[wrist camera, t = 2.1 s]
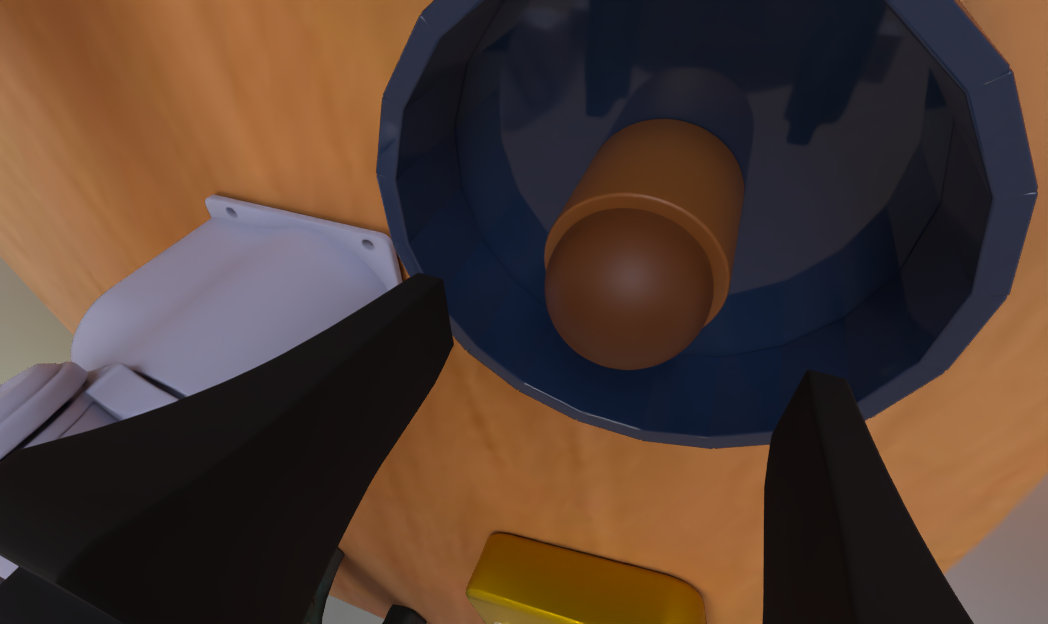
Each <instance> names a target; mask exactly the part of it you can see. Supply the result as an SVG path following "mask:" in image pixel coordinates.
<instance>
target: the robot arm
mask: <svg viewBox="0 0 1048 624" xmlns="http://www.w3.org/2000/svg"><path fill="white" fill-rule="evenodd" d="M205 204H206V207H207V209H208V211H209V213H210V215H211V217H212V218H211V219H209V220H208V221H207V222H205V223H204V224H202V225H201V226H199V227H198V228H196V229H195V230H194V231H192V232H191V233H189V234H188V235H186V236H185V237H184V238H182V239H181V240H179V241H178V242H176V243H175V244H173V245H172V246H171V247H169V248H168V249H166V250H165V251H163V252H162V253H160V254H159V255H158V256H156V257H155V258H153V259H152V260H150V261H149V262H148V263H146V264H145V265H143V266H142V267H140V268H139V269H137V270H136V271H135V272H133V273H132V274H130V275H129V276H127V277H126V278H125V279H123V280H122V281H120V282H119V283H117V284H116V285H114V286H113V287H112V288H110V289H109V290H107V291H106V292H105V293H104V294H103V295H101V296H100V297H99V298H98V299H97V300H96V301H95V302H94V303H93V304H92V305H91V307H90V308H89V309H88V311H87V312H86V313H85V315H84V316H83V318H82V320H81V322H80V324H79V325H78V328H77V330H76V332H75V335H74V338H73V341H72V346H71V362H64V363H61V364H56V363H54V364H36V365H34V366H32V367H30V368H28V369H26V370H24V371H22V372H21V373H19V374H17V375H16V376H14V377H12V378H11V379H9V380H8V381H6V382H4V383H3V384H1V385H0V624H302V623H303V621H304V619H305V616H306V614H307V611H308V609H309V607H310V605H311V602H312V600H313V598H314V596H315V594H316V592H317V589H318V587H319V585H320V583H321V581H322V578H323V576H324V574H325V572H326V570H327V568H328V565H329V563H330V561H331V559H332V557H333V555H334V553H335V551H336V549H337V547H338V545H339V543H340V541H341V539H342V537H343V535H344V533H345V531H346V529H347V527H348V525H349V523H350V521H351V519H352V517H353V515H354V513H355V511H356V509H357V507H358V505H359V504H360V502H361V500H362V498H363V496H364V494H365V492H366V490H367V488H368V486H369V485H370V483H371V481H372V479H373V478H374V476H375V474H376V473H377V471H378V469H379V468H380V466H381V464H382V463H383V461H384V460H385V458H386V457H387V455H388V454H389V452H390V451H391V449H392V448H393V446H394V445H395V443H396V442H397V440H398V439H399V437H400V436H401V434H402V433H403V431H404V430H405V428H406V427H407V425H408V424H409V422H410V421H411V419H412V418H413V416H414V415H415V413H416V412H417V410H418V409H419V407H420V406H421V404H422V403H423V401H424V400H425V398H426V397H427V395H428V394H429V392H430V390H431V389H432V387H433V386H434V384H435V382H436V380H437V378H438V376H439V374H440V372H441V370H442V368H443V366H444V364H445V362H446V360H447V358H448V356H449V354H450V351H451V349H452V347H453V345H454V343H453V337H452V331H451V325H450V318H449V312H448V306H447V300H446V293H445V287H444V281H443V279H442V278H438V277H434V276H430V275H426V274H422V273H417V274H415V275H413V276H412V277H410V278H408V279H407V280H405V281H402V277H401V272H400V268H399V264H398V259H397V255H396V251H395V248H394V246H393V242H392V240H391V238H390V237H389V236H387V235H386V234H384V233H381V232H377V231H373V230H368V229H364V228H359V227H355V226H351V225H346V224H342V223H337V222H333V221H329V220H324V219H320V218H315V217H311V216H307V215H302V214H298V213H294V212H289V211H285V210H280V209H276V208H272V207H267V206H263V205H258V204H254V203H250V202H245V201H241V200H236V199H232V198H228V197H223V196H219V195H211V196H210V197H208V198H207V199H206V200H205ZM763 624H974V623H973V621H972V620H971V619H970V617H969V615H968V614H967V612H966V611H965V609H964V608H963V606H962V604H961V603H960V601H959V600H958V598H957V596H956V595H955V593H954V592H953V590H952V588H951V587H950V585H949V583H948V582H947V580H946V578H945V577H944V575H943V573H942V572H941V570H940V568H939V566H938V565H937V563H936V561H935V559H934V558H933V556H932V554H931V552H930V551H929V549H928V547H927V545H926V544H925V542H924V540H923V538H922V537H921V535H920V533H919V531H918V529H917V527H916V526H915V524H914V522H913V520H912V518H911V516H910V514H909V513H908V511H907V509H906V507H905V505H904V503H903V501H902V499H901V497H900V495H899V493H898V491H897V489H896V487H895V485H894V483H893V481H892V479H891V477H890V475H889V473H888V471H887V469H886V467H885V465H884V463H883V461H882V458H881V456H880V454H879V452H878V450H877V448H876V445H875V443H874V441H873V439H872V437H871V434H870V432H869V430H868V428H867V425H866V423H865V421H864V419H863V416H862V414H861V412H860V409H859V407H858V404H857V402H856V400H855V397H854V395H853V392H852V390H851V387H850V385H849V383H848V382H847V380H846V379H845V378H841V377H837V376H833V375H829V374H825V373H821V372H817V371H813V370H809V369H807V370H806V372H805V374H804V376H803V378H802V380H801V381H800V383H799V385H798V387H797V389H796V391H795V392H794V394H793V396H792V398H791V400H790V402H789V404H788V405H787V407H786V409H785V411H784V413H783V415H782V416H781V418H780V420H779V422H778V424H777V426H776V428H775V429H774V431H773V433H772V435H771V442H770V449H769V455H768V462H767V470H766V478H765V486H764V596H763Z"/></svg>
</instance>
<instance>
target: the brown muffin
mask: <svg viewBox="0 0 1048 624" xmlns="http://www.w3.org/2000/svg"><path fill="white" fill-rule="evenodd" d="M743 201H744V180H743V176H742V172H741V169H740V167H739V164H738V162H737V160H736V159H735V157H734V155H733V154H732V152H731V151H730V150H729V149H728V147H727V146H726V145H725V144H724V143H723V142H722V141H721V140H720V139H719V138H717V137H716V136H715V135H713V134H712V133H710V132H709V131H707V130H705V129H703V128H701V127H699V126H697V125H694V124H691V123H688V122H685V121H680V120H674V119H652V120H647V121H641V122H638V123H635V124H632V125H630V126H628V127H626V128H623V129H622V130H620V131H618V132H617V133H615V134H614V135H613V136H611V137H610V138H609V139H608V140H607V141H606V142H605V143H604V144H603V145H602V146H601V148H600V149H599V150H598V152H597V153H596V155H595V156H594V158H593V160H592V161H591V163H590V165H589V166H588V168H587V170H586V171H585V173H584V175H583V176H582V178H581V180H580V181H579V183H578V185H577V186H576V188H575V190H574V191H573V193H572V195H571V196H570V198H569V200H568V201H567V203H566V205H565V206H564V208H563V209H562V211H561V213H560V214H559V216H558V218H557V219H556V221H555V223H554V224H553V226H552V228H551V230H550V232H549V234H548V236H547V240H546V244H545V250H544V263H545V270H546V275H545V300H546V305H547V309H548V313H549V315H550V318H551V320H552V323H553V325H554V327H555V328H556V330H557V332H558V333H559V334H560V336H561V337H562V339H563V340H564V341H565V342H566V343H567V344H568V345H569V346H570V347H571V348H572V349H573V350H574V351H575V352H577V353H578V354H579V355H581V356H583V357H584V358H586V359H588V360H590V361H591V362H594V363H596V364H598V365H601V366H604V367H608V368H613V369H620V370H638V369H644V368H649V367H653V366H656V365H659V364H661V363H663V362H666V361H668V360H670V359H671V358H673V357H675V356H676V355H678V354H679V353H680V352H682V351H683V350H684V349H685V348H687V347H688V346H689V345H690V343H691V342H692V341H693V340H694V339H695V338H696V337H697V335H698V334H699V332H700V331H701V329H702V328H703V327H704V326H706V325H707V324H708V323H709V322H711V321H712V320H713V318H714V317H715V316H716V315H717V314H718V313H719V311H720V310H721V308H722V307H723V305H724V303H725V301H726V298H727V296H728V292H729V288H730V282H731V276H732V270H733V264H734V257H735V251H736V245H737V239H738V232H739V226H740V220H741V214H742V207H743Z"/></svg>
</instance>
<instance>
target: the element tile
mask: <svg viewBox="0 0 1048 624" xmlns="http://www.w3.org/2000/svg"><path fill="white" fill-rule="evenodd" d="M466 596H467V598H468V600H469V601H470V602H471V604H472V605H473V606H474V608H475V609H476V611H477V612H478V613H479V615H480V616H481V617H482V619H483V620H484V622H485V623H486V624H706V617H705V609H704V603H703V600H702V597H701V596H700V594H699V593H698V592H697V591H696V590H695V589H694V588H693V587H692V586H690V585H688V584H687V583H685V582H683V581H681V580H679V579H676V578H674V577H671V576H668V575H665V574H661V573H657V572H654V571H650V570H646V569H642V568H638V567H634V566H630V565H626V564H622V563H619V562H615V561H611V560H607V559H603V558H599V557H595V556H591V555H588V554H584V553H580V552H576V551H572V550H568V549H564V548H560V547H557V546H553V545H549V544H545V543H541V542H537V541H533V540H529V539H526V538H522V537H518V536H514V535H510V534H504V533H496V534H493V535H491V536H490V537H489V538H488V540H487V542H486V544H485V546H484V549H483V551H482V553H481V556H480V558H479V560H478V562H477V565H476V567H475V569H474V572H473V574H472V576H471V579H470V581H469V583H468V585H467V588H466Z"/></svg>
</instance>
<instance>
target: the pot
mask: <svg viewBox="0 0 1048 624" xmlns="http://www.w3.org/2000/svg"><path fill="white" fill-rule="evenodd" d="M652 119H674V120H680V121H685V122H688V123H691V124H694V125H697V126H699V127H701V128H703V129H705V130H707V131H709V132H710V133H712V134H713V135H715V136H716V137H717V138H719V139H720V140H721V141H722V142H723V143H724V144H725V145H726V146H727V147H728V149H729V150H730V151H731V152H732V154H733V155H734V157H735V159H736V160H737V162H738V164H739V167H740V169H741V172H742V176H743V180H744V201H743V207H742V214H741V220H740V226H739V232H738V239H737V245H736V251H735V257H734V264H733V270H732V276H731V282H730V288H729V292H728V296H727V298H726V301H725V303H724V305H723V307H722V308H721V310H720V311H719V313H718V314H717V315H716V316H715V317H714V318H713V320H712V321H711V322H709V323H708V324H707V325H706V326H704V327H703V328H702V329H701V331H700V332H699V334H698V335H697V337H696V338H695V339H694V340H693V341H692V342H691V343H690V345H689V346H688V347H687V348H685V349H684V350H683V351H682V352H680V353H679V354H678V355H676V356H675V357H673V358H671V359H670V360H668V361H666V362H663V363H661V364H659V365H656V366H653V367H649V368H644V369H638V370H620V369H613V368H608V367H604V366H601V365H598V364H596V363H594V362H591V361H590V360H588V359H586V358H584V357H583V356H581V355H579V354H578V353H577V352H575V351H574V350H573V349H572V348H571V347H570V346H569V345H568V344H567V343H566V342H565V341H564V340H563V339H562V337H561V336H560V334H559V333H558V332H557V330H556V328H555V327H554V325H553V323H552V320H551V318H550V315H549V313H548V309H547V305H546V300H545V275H546V270H545V263H544V250H545V244H546V240H547V236H548V234H549V232H550V230H551V228H552V226H553V224H554V223H555V221H556V219H557V218H558V216H559V214H560V213H561V211H562V209H563V208H564V206H565V205H566V203H567V201H568V200H569V198H570V196H571V195H572V193H573V191H574V190H575V188H576V186H577V185H578V183H579V181H580V180H581V178H582V176H583V175H584V173H585V171H586V170H587V168H588V166H589V165H590V163H591V161H592V160H593V158H594V156H595V155H596V153H597V152H598V150H599V149H600V148H601V146H602V145H603V144H604V143H605V142H606V141H607V140H608V139H609V138H610V137H611V136H613V135H614V134H615V133H617V132H618V131H620V130H622V129H623V128H626V127H628V126H630V125H632V124H635V123H638V122H641V121H647V120H652ZM376 173H377V180H378V184H379V188H380V193H381V197H382V201H383V206H384V210H385V214H386V219H387V223H388V227H389V232H390V236H391V240H392V242H393V246H394V248H395V250H396V252H397V254H398V255H399V257H400V259H401V261H402V263H403V265H404V267H405V269H406V270H407V272H408V274H409V276H410V277H412V276H413V275H415V274H417V273H422V274H426V275H430V276H434V277H438V278H442V279H443V281H444V287H445V293H446V300H447V306H448V312H449V318H450V325H451V331H452V335H453V336H454V338H455V339H456V340H457V341H458V342H459V343H460V344H461V346H462V347H463V348H464V349H465V350H467V352H468V353H469V354H471V355H472V356H473V357H475V358H476V359H477V360H479V361H480V362H481V363H482V364H484V365H485V366H486V367H488V368H489V369H490V370H492V371H493V372H494V373H495V374H497V375H498V376H499V377H501V378H502V379H503V380H505V381H506V382H507V383H508V384H510V385H511V386H512V387H514V388H515V389H516V390H519V392H521V393H523V394H525V395H527V396H529V397H531V398H533V399H535V400H537V401H539V402H541V403H543V404H545V405H547V406H549V407H551V408H553V409H555V410H557V411H559V412H561V413H563V414H564V415H566V416H568V417H570V418H572V419H574V420H576V419H577V421H579V422H583V423H586V424H589V425H593V426H596V427H599V428H602V429H606V430H609V431H612V432H615V433H619V434H622V435H625V436H629V437H632V438H635V439H638V440H641V439H642V441H648V442H657V443H665V444H674V445H682V446H691V447H699V448H708V449H713V448H715V449H718V448H731V447H744V446H757V445H770V442H771V435H772V433H773V431H774V429H775V428H776V426H777V424H778V422H779V420H780V418H781V416H782V415H783V413H784V411H785V409H786V407H787V405H788V404H789V402H790V400H791V398H792V396H793V394H794V392H795V391H796V389H797V387H798V385H799V383H800V381H801V380H802V378H803V376H804V374H805V372H806V370H807V369H809V370H813V371H817V372H821V373H825V374H829V375H833V376H837V377H841V378H845V379H846V380H847V382H848V383H849V385H850V387H851V390H852V392H853V395H854V397H855V400H856V402H857V404H858V407H859V409H860V412H861V414H862V416H863V419H864V421H865V420H867V419H868V418H872V417H874V416H875V415H877V414H879V413H880V412H882V411H883V410H885V409H887V408H888V407H890V406H891V405H893V404H895V403H896V402H898V401H900V400H901V399H903V398H904V397H906V396H908V395H909V394H911V393H913V392H914V391H916V390H917V389H919V388H921V387H922V386H924V385H925V384H927V383H929V382H930V381H932V380H934V379H935V378H937V377H938V376H940V375H942V374H943V373H944V372H945V371H946V370H948V369H949V368H950V366H951V365H952V364H953V363H954V362H955V360H956V359H957V358H958V357H959V355H960V354H961V353H962V352H963V351H964V349H965V348H966V347H967V346H968V345H969V343H970V342H971V341H972V340H973V338H974V337H975V336H976V335H977V334H978V332H979V331H980V330H981V329H982V328H983V326H984V325H985V324H986V323H987V321H988V320H989V319H990V318H991V317H992V315H993V314H994V313H995V312H996V311H997V309H998V308H999V307H1000V306H1001V304H1002V303H1003V302H1004V301H1005V300H1006V298H1007V295H1009V294H1010V291H1011V288H1012V284H1013V280H1014V277H1015V273H1016V270H1017V266H1018V263H1019V259H1020V256H1021V252H1022V248H1023V245H1024V241H1025V238H1026V234H1027V231H1028V227H1029V224H1030V220H1031V217H1032V213H1033V209H1034V206H1035V202H1036V199H1037V195H1038V192H1037V189H1038V184H1037V180H1036V175H1035V170H1034V166H1033V161H1032V156H1031V152H1030V147H1029V142H1028V138H1027V133H1026V128H1025V124H1024V119H1023V114H1022V110H1021V105H1020V100H1019V96H1018V91H1017V86H1016V82H1015V77H1014V72H1013V71H1012V70H1011V68H1010V65H1009V63H1008V62H1007V61H1006V60H1005V58H1004V57H1003V56H1002V54H1001V53H1000V52H999V51H998V49H997V48H996V47H995V45H994V44H993V43H992V42H991V40H990V39H989V38H988V36H987V35H986V34H985V32H984V31H983V30H982V29H981V27H980V26H979V25H978V23H977V22H976V21H975V20H974V18H973V17H972V16H971V14H970V13H969V12H968V11H967V9H966V8H965V7H964V6H963V4H962V3H961V2H960V1H959V0H434V1H433V2H432V3H430V4H429V5H428V6H427V7H426V8H425V9H424V10H423V11H422V13H421V15H420V16H419V17H418V19H417V22H416V24H415V26H414V28H413V30H412V32H411V35H410V37H409V39H408V41H407V43H406V45H405V48H404V50H403V52H402V54H401V56H400V58H399V61H398V63H397V65H396V67H395V69H394V71H393V74H392V76H391V78H390V80H389V82H388V84H387V87H386V89H385V91H384V93H383V97H382V105H381V118H380V130H379V143H378V156H377V168H376Z"/></svg>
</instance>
